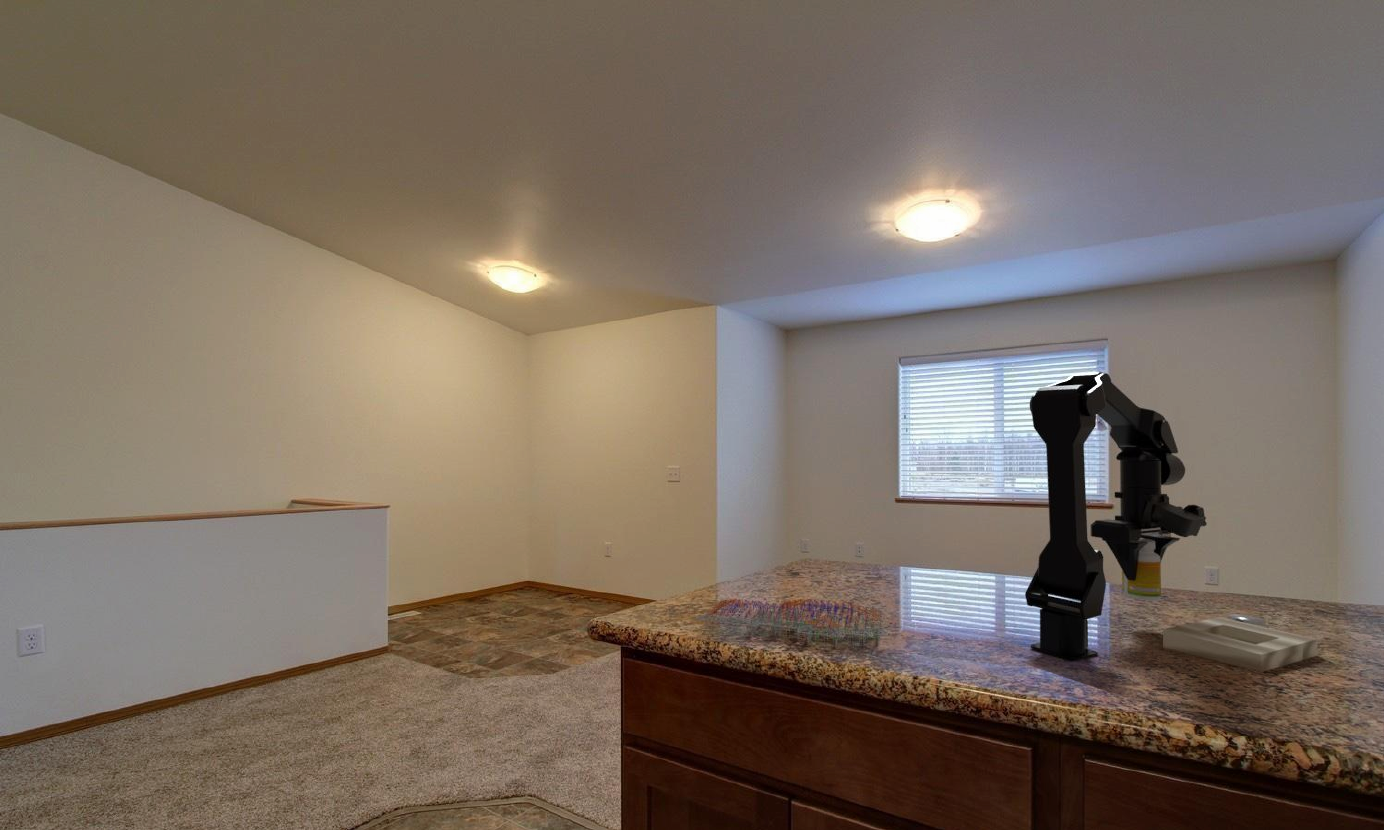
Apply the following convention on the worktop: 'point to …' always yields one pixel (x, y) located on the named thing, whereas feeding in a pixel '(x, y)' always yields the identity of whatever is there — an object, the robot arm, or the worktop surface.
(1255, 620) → the short steel stub
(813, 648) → the worktop surface
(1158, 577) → the supplement bottle
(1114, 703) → the worktop surface
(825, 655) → the worktop surface
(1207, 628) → the bored board
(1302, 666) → the worktop surface
